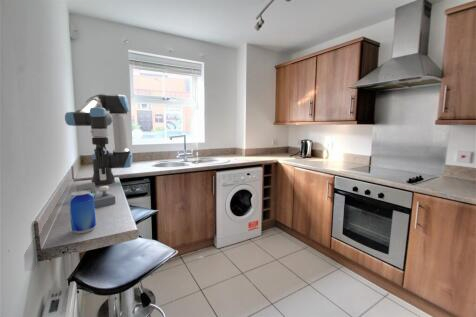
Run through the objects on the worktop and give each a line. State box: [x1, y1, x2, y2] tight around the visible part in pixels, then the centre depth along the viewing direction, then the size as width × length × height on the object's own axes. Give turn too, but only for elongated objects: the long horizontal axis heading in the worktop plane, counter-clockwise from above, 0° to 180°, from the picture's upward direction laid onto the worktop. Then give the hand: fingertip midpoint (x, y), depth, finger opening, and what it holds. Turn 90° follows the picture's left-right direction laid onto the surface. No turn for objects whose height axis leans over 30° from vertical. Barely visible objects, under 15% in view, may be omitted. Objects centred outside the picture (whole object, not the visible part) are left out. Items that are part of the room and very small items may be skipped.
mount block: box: [94, 192, 116, 209], centre depth 126 cm, size 13×12×4 cm
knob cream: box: [99, 185, 110, 197], centre depth 128 cm, size 4×4×6 cm
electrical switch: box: [75, 182, 98, 194], centre depth 135 cm, size 9×5×9 cm, turn 141°
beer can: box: [68, 190, 97, 234], centre depth 94 cm, size 8×8×16 cm
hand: (103, 179), depth 127 cm, fingers closed
